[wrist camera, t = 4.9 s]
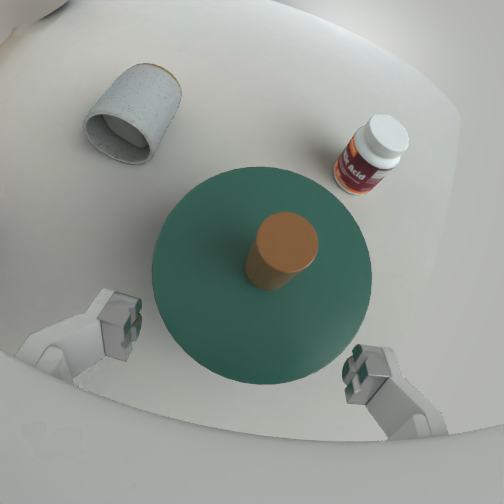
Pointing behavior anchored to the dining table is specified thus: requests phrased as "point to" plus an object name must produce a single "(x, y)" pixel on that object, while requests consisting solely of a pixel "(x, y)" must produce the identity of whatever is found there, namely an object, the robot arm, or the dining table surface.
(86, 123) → the ceramic mug
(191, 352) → the tin lid
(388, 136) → the pill bottle
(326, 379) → the dining table surface
